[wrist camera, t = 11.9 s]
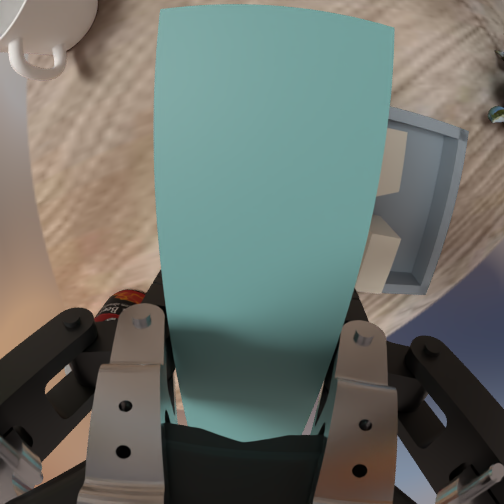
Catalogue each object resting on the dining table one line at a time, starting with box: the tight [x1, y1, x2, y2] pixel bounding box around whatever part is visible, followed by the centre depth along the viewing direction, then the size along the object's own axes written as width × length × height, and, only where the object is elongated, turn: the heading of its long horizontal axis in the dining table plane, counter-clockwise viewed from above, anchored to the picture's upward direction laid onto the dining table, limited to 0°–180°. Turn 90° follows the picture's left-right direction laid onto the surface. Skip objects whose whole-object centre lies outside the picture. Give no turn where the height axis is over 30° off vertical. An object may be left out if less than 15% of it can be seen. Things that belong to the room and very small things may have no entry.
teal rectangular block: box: [154, 4, 394, 442], centre depth 10 cm, size 16×4×5 cm, turn 177°
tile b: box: [355, 214, 401, 294], centre depth 24 cm, size 5×5×2 cm
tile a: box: [376, 128, 408, 197], centre depth 20 cm, size 5×5×2 cm
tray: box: [373, 107, 469, 295], centre depth 23 cm, size 16×11×3 cm
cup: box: [0, 0, 98, 81], centre depth 14 cm, size 8×12×10 cm
